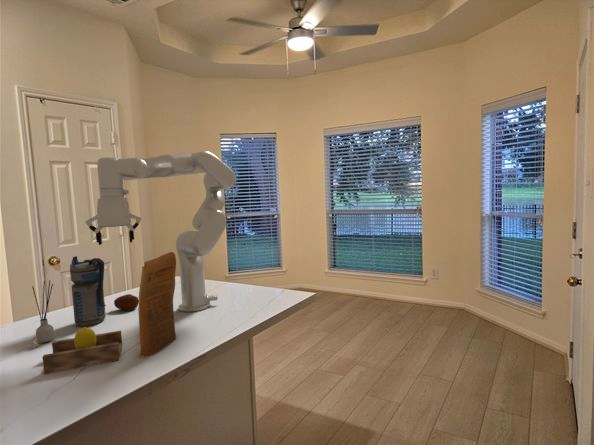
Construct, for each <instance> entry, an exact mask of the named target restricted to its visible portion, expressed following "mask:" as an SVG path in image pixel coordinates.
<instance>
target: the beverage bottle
mask: <svg viewBox="0 0 594 445" xmlns="http://www.w3.org/2000/svg"><path fill="white" fill-rule="evenodd" d="M69 273H70V274H69V275H70V281H71V282H72V283H73V284H72V285H71V298H72V308H73V319H74V323H75V324H76V326H79V327H80V326H81V327H87V326H93V325H96V324H99V323H101V322H103V321H104V320H106V316H107V314H106V306H107V305H106V304H105V303H106V302H105V292H104V278H105V261H104V260H103V259H102V258H100V257H95V258H92V259H84V260H83V261H79V259H78V256H77V255H76V256H72V259H71V263H70V265H69Z"/></svg>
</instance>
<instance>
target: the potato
mask: <svg viewBox="0 0 594 445" xmlns="http://www.w3.org/2000/svg"><path fill="white" fill-rule="evenodd" d="M113 304H114V307H115V308H117V309H118V310H120V311H133V310H136V308H137V307H139V296H135V295H133V294H130V293H129V294H123V295H121V296H119V297H117V298H115V299H114V302H113Z"/></svg>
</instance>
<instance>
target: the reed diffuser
mask: <svg viewBox="0 0 594 445" xmlns="http://www.w3.org/2000/svg"><path fill="white" fill-rule="evenodd" d="M45 285H46V284H45V280H43V288H42V289H43V291H42V308H41V309H42V310H41V311H42V312H41V311H40V308H39V304H38V303H39V302H38V300H37V299H38V298H37V295H36V291H35V288H34V285H32V291H33V294H34V295H33V296H34V299H35V302H36V306H37V309H38V314H39V318H40V320H39V322H40V325H39V326H38V327H37V329H35V337H36V340H35V341H31V342H30V345H29V348H30V349H35V348H37V347H39V346H40V343H46V342H51V341H52V340H54V339H55V333H54V332H55V330H54V326H53V325H52V324H49V323H48V318H47V312H48V306H49V302H50V299H51V298H50V297H51V294H52V290H53V286H54V284H53V283H51V280H49V281H48V289H47V298H46V307H45V311H44V304H45ZM50 285H51V286H50Z"/></svg>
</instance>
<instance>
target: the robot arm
mask: <svg viewBox="0 0 594 445" xmlns="http://www.w3.org/2000/svg"><path fill="white" fill-rule="evenodd" d="M96 165H97V178H98V190H99V198H98V199H97V205H96V215H94V216H92V217H91V218H88V219H86V220H85V224H86V226H88V228H89V230H91V231H92V232H93V233H94V234H95V239H96V241H95V242H96V243H98V245H99V246H101V245H102V244H103V238H102V232H101V230H102V229H103V228H114V227H126V228H127V229H128V230H129V231H128V237H129V243H133V241H134V240H135V229H137V227H139V225H140V223H141V220H142V217H141V216H140V217H139V216H137V215H136V214H134V213H133V214H132V213H131V212H130V205H129V200H128V198H127V197H125V196H126V195H129V194H130V193H129V190H128V189H125V188H124V186H125V185H124V181H132V180H133V181H134V180H142V179H151V178H152V179H153V178H171V177H179V176H187V175H196V174H204V173H205V174H204V175H203V180H202V182H203V185H204V186H203V187H204V189H205V198H204V200H203V202H202V203H201V205H200V207H199V208H198V210H197V211H196V212H195V214H194V215H193V216H192V220H191V223H192V227H193V229H194V230H185V231H182V232H181V233H180V234H179V235H177V238H176V241H175V248H176V252H177V257H178V264H179V276H180V290H181V291H180V293H181V303H180V304H179V305H178V306H177V307H178V308H177V309H178V310H179V311H180V312H198V311H202V310H205V309H208V308H209V307H210V306H211V302H212V301H213V302H214V301H218V296H217V295H213V294H212V295H207V294H206V283H205V282H206V279H205V265H204V264H205V263H204V259H203V257H205V256H207V255H209V254H210V253H211V252H213V250H214V248H215V247H216V245H217V243H218V241H219V240H220V238H222V237H221V236H222V235H223V233H224V231H225V229H226V226H227V217H226V215H225V213H224V212H223V209H224V207H225V203H226V196H225V193H224V190H229V189H231V188H233V187H234V186H235V185H236V182H237V177H236V174H235V173H234V171H233V170H232V169H231V167H229V166H228V165H227V164H226V163H224V161H222V160H221V159H220V158H219V157H217V156H216V155H215V154H213V153H212V152H210V151H207V150H201V151H197V152H187V153H169V154H163V155H159V156H153V157H148V158H139V157H128V158H127V157H126V158H124V157H123V158H117V157H100V158H99V159H97V164H96ZM131 219H134V220H136V221H135V223H134V224H133V225H132V224H131V222H132V221H131ZM94 221H96V222H97V225H98V226H97V227H95V226H94V225H93V222H94Z"/></svg>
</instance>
